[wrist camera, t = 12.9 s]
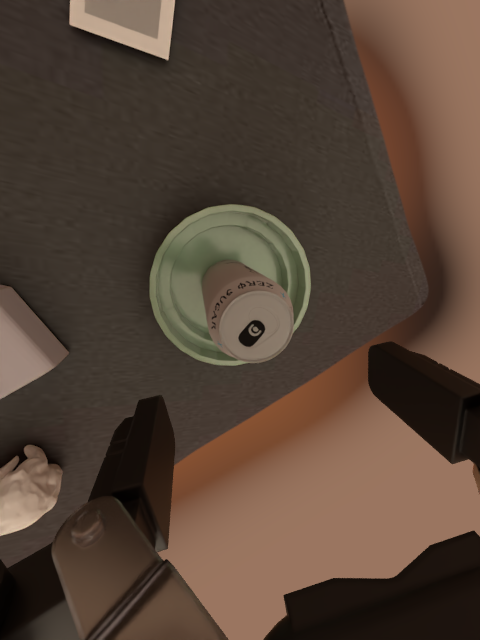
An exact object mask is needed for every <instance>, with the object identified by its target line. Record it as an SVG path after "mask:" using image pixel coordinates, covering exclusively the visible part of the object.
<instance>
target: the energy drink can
mask: <svg viewBox="0 0 480 640" xmlns="http://www.w3.org/2000/svg"><path fill="white" fill-rule="evenodd" d="M202 294H203V300H204V306H205V312H206V319H207V325H208V329H209V334H210V336H211V338H212V340H213V342H214V343H215V344H216V346H217V347H218V348H219V349H220V350H221V351H222V352H224V353H225V354H227V355H229V356H231V357H234V358H236V359H238V360H240V361H243V362H248V363H260V362H264V361H267V360H270V359H272V358H274V357H275V356H277V355H278V354H279V353H281V352H282V351H283V350H284V349H285V347H286V346H287V345H288V343H289V341H290V339H291V337H292V334H293V329H294V319H293V316H294V314H293V306H292V303H291V300H290V298H289V296H288V294H287V293H286V291H285V290H284V289H283V288H282V287H281V286H280V285H278V284H277V283H276V282H274V281H273V280H271V279H269V278H267V277H266V276H264V275H262V274H260V273H259V272H257V271H255V270H253V269H252V268H250V267H248V266H246V265H245V264H243V263H241V262H239V261H236V260H222V261H219V262H216V263H215V264H213V265H212V266H211V267H210V268H209V269H208V270H207V271H206V273H205V275H204V277H203V280H202Z"/></svg>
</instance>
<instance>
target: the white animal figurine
mask: <svg viewBox="0 0 480 640" xmlns="http://www.w3.org/2000/svg"><path fill="white" fill-rule="evenodd" d="M24 453H25V455H26V456H27V458H28V459H27V460H25V461H24V462H22V463H21V464H20V465H19V466H18V467H17V469H16V470H15V471H13V469H14V468H15V467H16V465H17V464H18V462H19V457H18V456H15V457H14V458H13V459H12V460H11V461H10V462H8V463H7V464H6V465H5V466H3V467H2V468H0V536H1V535H5V534H8V533H12V532H15V531H18V530H21V529H23V528H26V527H28V526H30V525H31V524H33V523H34V522H36V521H37V520H38V519H39V518H40V517H41V516H42V515H43V514H44V513H46V512H48V511H49V510H51V509H52V508H53V506H54V505H55V503H56V502H57V497H58V494H59V491H60V487H61V478H62V473H63V472H62V470H61V468H60V466H59V465H57V464H47V463H48V461H47V458H46V456H45V453H44V451H43V450H42V449H41V448H39V447H37V446H34V445H27V446H25V448H24Z"/></svg>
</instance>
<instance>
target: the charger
mask: <svg viewBox="0 0 480 640" xmlns="http://www.w3.org/2000/svg"><path fill="white" fill-rule="evenodd" d="M68 354H69V352H68V351H67V350H66V348H65V347H64V346H63V345H62V344H61V343H60V342H59V340H58V339H57V338H56V337H55V336H54V335H53V334H52V333H51V331H50V330H49V329H48V328H47V327H46V326H45V325H44V323H43V322H42V321H41V320H40V319H39V318H38V317H37V315H36V314H35V313H34V312H33V311H32V310H31V309H30V308H29V306H28V305H27V304H26V303H25V302H24V301H23V300H22V298H21V297H20V296H19V295H18V294H17V293H16V292H15V291H14V289H13V288H12V287H9V286H4V285H0V399H1V398H3V397H5V396H7V395H8V394H10V393H12V392H14V391H16V390H17V389H19V388H21V387H23V386H24V385H26V384H28V383H30V382H32V381H33V380H35V379H37V378H39V377H40V376H42V375H44V374H45V373H47V372H48V371H50V370H51V369H53V368H54V367H56V366H57V365H58V364H59V363H60V362H61V361H62V360H63V359H64V358H65V357H66V356H67V355H68Z"/></svg>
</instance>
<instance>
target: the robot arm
mask: <svg viewBox="0 0 480 640" xmlns="http://www.w3.org/2000/svg"><path fill="white" fill-rule="evenodd" d="M368 361H369V362H368V382H369V386H370V389H371V391H372V392H373V394H374V395H375V396H376V397H377V398H378V399H379V400H380V401H381V402H382V403H383V404H385V405H386V406H387V407H388V408H389V409H390V410H391V411H393V412H394V413H395V414H396V415H397V416H398V417H399V418H401V419H402V420H403V421H404V422H405V423H406V424H407V425H408V426H410V427H411V428H412V429H413V430H414V431H415V432H416V433H418V434H419V435H420V436H421V437H422V438H423V439H424V440H425V441H427V442H428V443H429V444H430V445H431V446H432V447H433V448H434V449H436V450H437V451H438V452H439V453H440V454H441V455H442V456H444V457H445V458H446V459H447V460H448V461H449V462H450V463H451V464H455V463H458V462H461V461H464V460H467V459H469V460H471V461H472V462H473V463H474V466H473V475H474V478H475V481H476V484H477V487H478V490H479V494H480V384H478V383H476V382H474V381H473V380H471V379H469V378H467V377H465V376H463V375H461V374H459V373H457V372H455V371H453V370H449V369H448V367H446V366H444V365H442V364H438V363H437V362H436V361H434V360H432V359H430V358H429V357H427V356H425V355H422V354H418V353H415V352H412V351H409V350H407V349H405V348H403V347H402V346H400V345H398V344H396V343H394V342H386V343H381V344H377V345H373V346H371V347H370V349H369V352H368ZM174 456H175V438H174V432H173V428H172V425H171V422H170V418H169V415H168V412H167V408H166V405H165V402H164V399H163V397H162V395H158V396H154V397H150V398H146V399H141V400H139V402H138V405H137V408H136V411H135V414H134V416H133V417H129V418H125V419H124V421H123V422H122V423H121V424H120V425H119V426H118V428H117V429H116V430H115V432H114V435H113V437H112V440H111V442H110V446H109V448H108V450H107V453H106V457H105V458H104V461H103V463H102V466H101V469H100V471H99V474H98V476H97V479H96V482H95V484H94V487H93V489H92V492H91V495H90V497H89V500H88V502H87V503H86V504H84V505H82V506H81V507H80V508H78V509H77V510H76V511H75V512H73V513H72V514H71V515H70V516H69V517H68V519H67V520H66V521H65V522H64V523H63V525H62V526H61V527H60V529H59V531H58V532H57V534H56V536H55V539H54V541H53V542H52V543H51V544H49V545H48V546H46V547H44V548H42V549H41V550H39V551H37V552H35V553H34V554H32V555H30V556H28V557H27V558H25V559H23V560H21V561H20V562H18V563H16V564H14V565H12V566H11V567H9V568H6V566H5V565H4V563H3V562H2V561H1V560H0V640H228V638H227V637H226V636H225V634H224V633H223V631H222V630H221V629H220V627H219V626H218V625H217V623H216V622H215V621H214V619H213V618H212V617H211V615H210V614H209V613H208V611H207V610H206V609H205V607H204V606H203V605H202V603H201V602H200V601H199V599H198V598H197V597H196V595H195V594H194V593H193V591H192V590H191V589H190V587H189V586H188V585H187V583H186V582H185V580H184V579H183V578H182V576H181V575H180V574H179V572H178V571H177V570H176V569H175V567H174V566H173V565H172V564H171V563H170V562H169V561H168V560H167V559H166V560H165V561H163V560H162V559H161V557H160V556H159V555H158V553H157V552H159V551H162V550H166V549H168V538H169V525H170V511H171V510H170V509H171V497H172V483H173V469H174ZM284 601H285V606H286V612H287V616H285V617H284V618H283V619H282V620H281V621H279V622H278V623H277V624H276V625H275V626H274V628H273V629H272V630H271V631H270V632H269V633H268V634H267V635H266V637H265V638H264V640H480V537H479V535H478V534H477V533H476V532H475V531H471V532H468V533H465V534H462V535H459V536H456V537H453V538H451V539H447V540H445V541H442V542H439V543H436V544H433V545H430V546H429V547H428V548H427V549H426V550H425V551H423V552H422V553H421V554H420V555H419V556H418V557H417V558H416V559H415V560H413V562H411V563H410V564H409V565H408V566H407V567H406V568H405V569H403V570H402V571H401V572H400V573H399V574H398V575H397V576H395V577H393V578H389V579H367V578H365V579H364V578H363V579H362V578H333V579H330V580H327V581H324V582H321V583H318V584H315V585H312V586H309V587H306V588H303V589H301V590H297V591H294V592H291V593H288V594H285V595H284Z"/></svg>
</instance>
